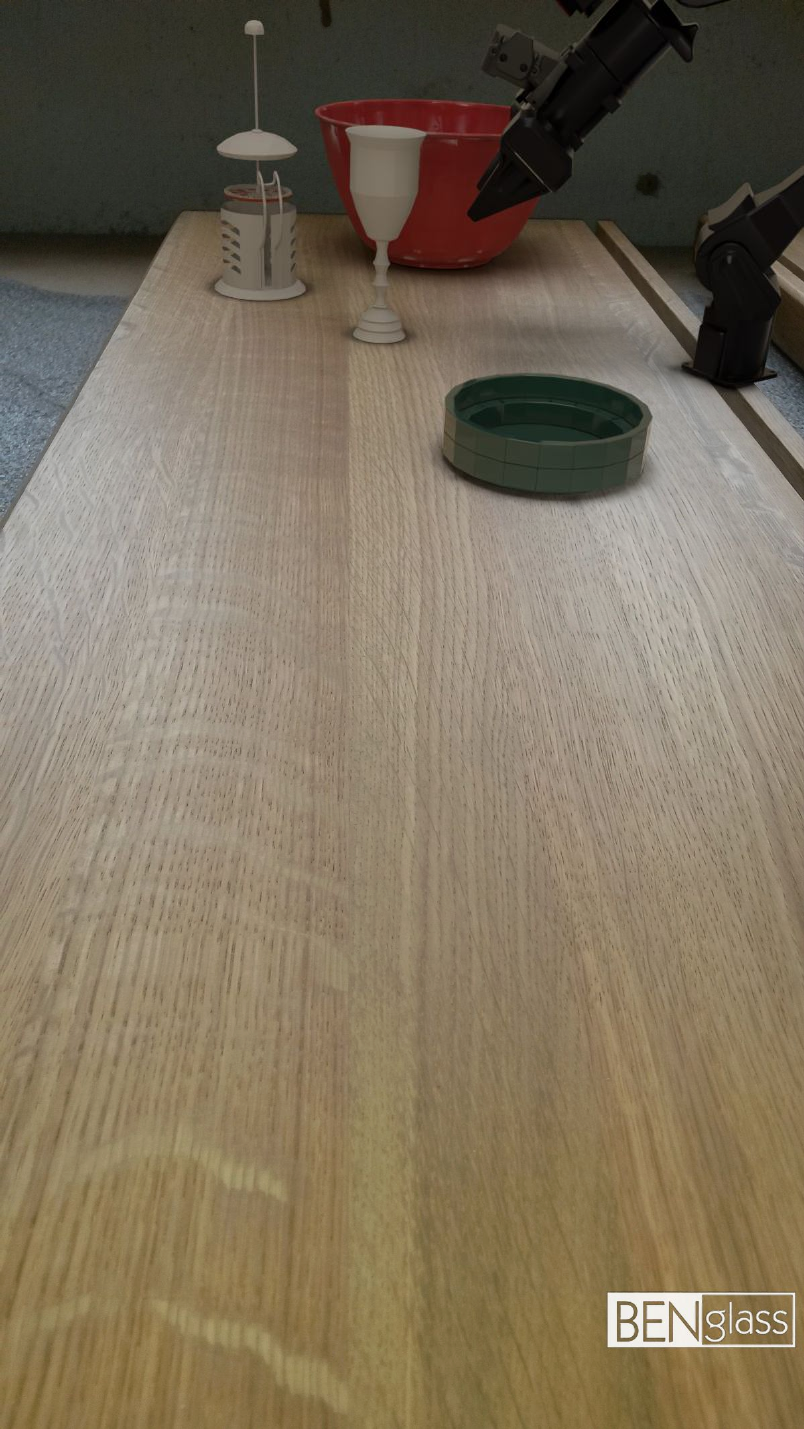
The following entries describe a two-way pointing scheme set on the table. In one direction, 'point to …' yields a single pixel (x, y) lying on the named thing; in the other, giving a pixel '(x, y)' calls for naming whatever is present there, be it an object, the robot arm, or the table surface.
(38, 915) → the table surface
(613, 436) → the dish
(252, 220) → the french press
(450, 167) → the mixing bowl
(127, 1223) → the table surface
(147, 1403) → the table surface
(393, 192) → the chalice
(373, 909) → the table surface
